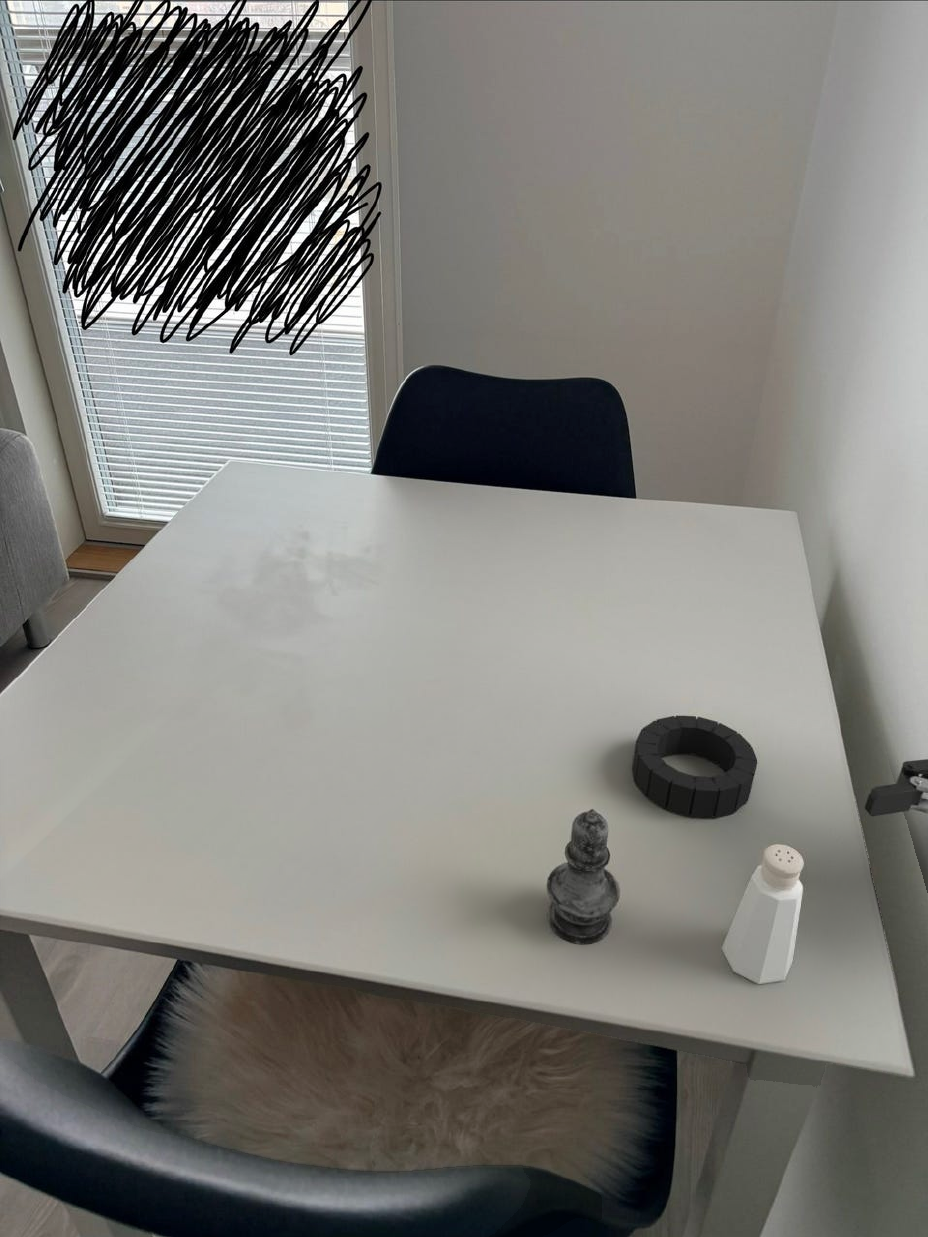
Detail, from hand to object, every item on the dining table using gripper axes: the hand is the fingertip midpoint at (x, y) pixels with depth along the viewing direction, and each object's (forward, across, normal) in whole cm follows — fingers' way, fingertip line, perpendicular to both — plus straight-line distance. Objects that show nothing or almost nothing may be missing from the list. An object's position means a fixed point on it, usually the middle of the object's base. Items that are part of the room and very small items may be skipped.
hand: (903, 842), depth 66 cm
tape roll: (+6, -21, +10) cm, 24 cm away
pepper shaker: (+10, 0, +10) cm, 15 cm away
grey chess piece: (+23, -6, +10) cm, 26 cm away
